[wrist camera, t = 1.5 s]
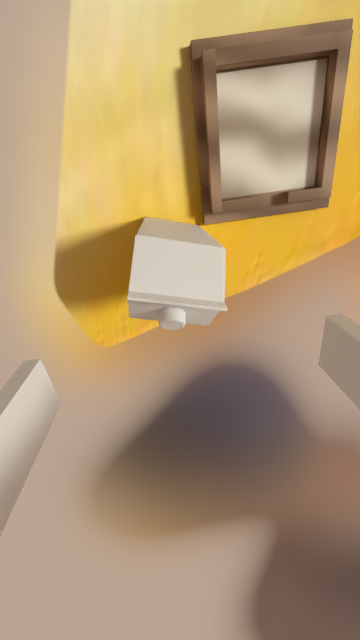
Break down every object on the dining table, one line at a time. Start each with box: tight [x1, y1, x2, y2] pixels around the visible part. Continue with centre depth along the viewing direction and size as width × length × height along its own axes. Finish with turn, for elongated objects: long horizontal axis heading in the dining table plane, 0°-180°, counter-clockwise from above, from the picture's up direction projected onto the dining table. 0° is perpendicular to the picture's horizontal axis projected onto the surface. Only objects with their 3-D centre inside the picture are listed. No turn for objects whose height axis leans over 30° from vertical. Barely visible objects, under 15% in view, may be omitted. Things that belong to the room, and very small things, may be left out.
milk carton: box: [127, 217, 227, 330], centre depth 26 cm, size 7×7×19 cm
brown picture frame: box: [190, 18, 353, 225], centre depth 28 cm, size 17×16×2 cm
